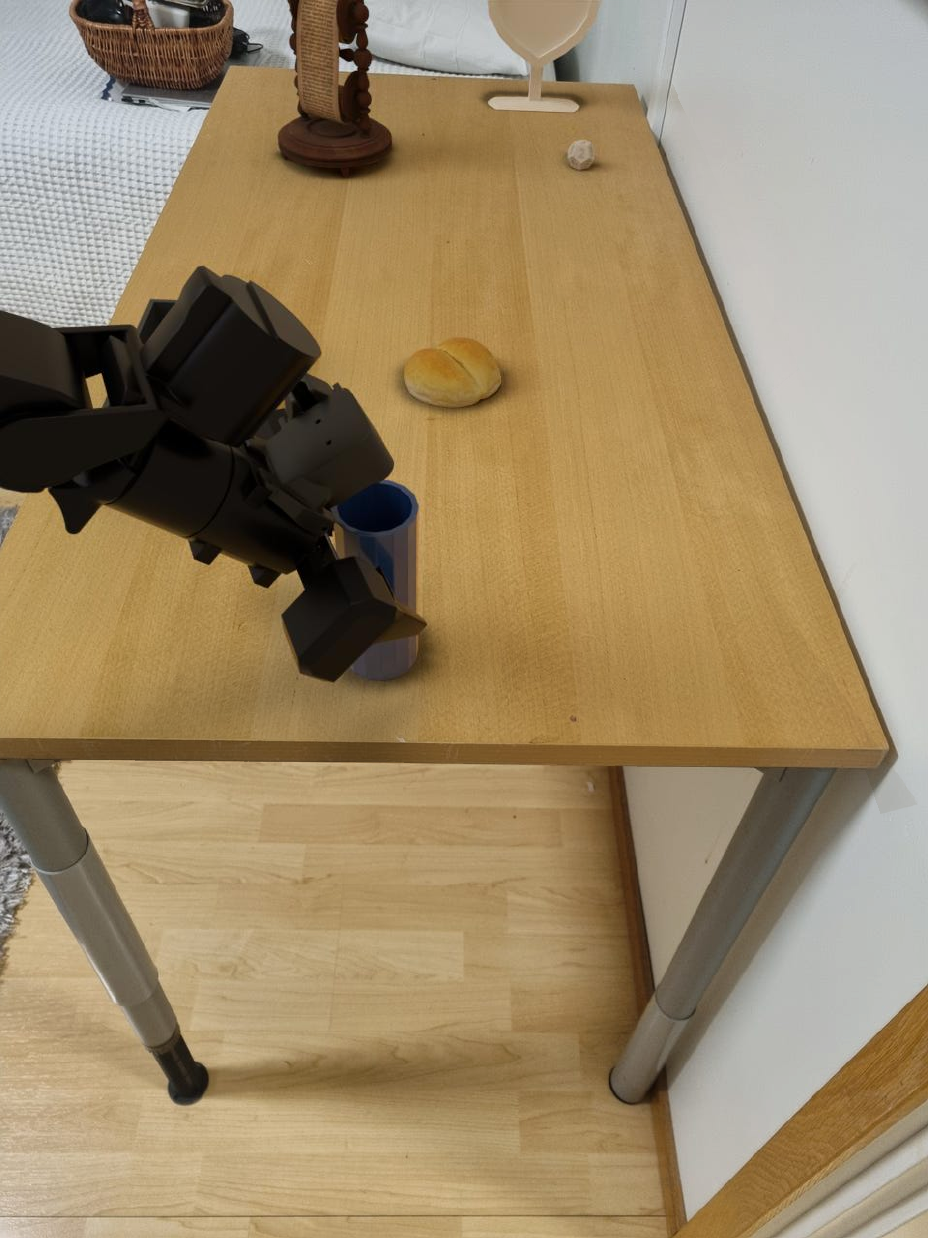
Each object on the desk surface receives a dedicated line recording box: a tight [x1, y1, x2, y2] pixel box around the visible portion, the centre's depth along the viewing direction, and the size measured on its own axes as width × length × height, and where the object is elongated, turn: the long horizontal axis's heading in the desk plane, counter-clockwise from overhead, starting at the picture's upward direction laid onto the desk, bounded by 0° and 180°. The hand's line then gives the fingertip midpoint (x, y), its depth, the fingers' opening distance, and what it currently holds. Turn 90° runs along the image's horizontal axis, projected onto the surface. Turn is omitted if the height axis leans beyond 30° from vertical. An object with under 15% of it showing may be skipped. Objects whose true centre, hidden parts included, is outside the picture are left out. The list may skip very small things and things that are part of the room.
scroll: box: [277, 0, 393, 178], centre depth 115 cm, size 15×15×20 cm
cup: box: [330, 479, 420, 681], centre depth 61 cm, size 5×5×14 cm
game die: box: [567, 139, 596, 171], centre depth 123 cm, size 4×4×3 cm
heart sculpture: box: [487, 0, 602, 114], centre depth 131 cm, size 16×5×18 cm, turn 91°
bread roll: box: [403, 336, 502, 409], centre depth 87 cm, size 8×9×4 cm
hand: (397, 580), depth 61 cm, fingers open, 9 cm apart
